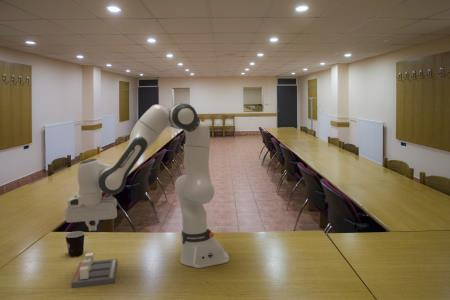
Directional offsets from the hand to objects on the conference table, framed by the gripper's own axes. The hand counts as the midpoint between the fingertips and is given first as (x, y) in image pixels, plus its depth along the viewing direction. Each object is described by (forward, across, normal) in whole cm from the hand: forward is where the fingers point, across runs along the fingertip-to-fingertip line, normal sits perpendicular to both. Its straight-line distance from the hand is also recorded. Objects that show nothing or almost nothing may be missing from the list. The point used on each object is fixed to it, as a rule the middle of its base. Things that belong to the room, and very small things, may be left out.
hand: (92, 230), depth 153 cm
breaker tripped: (+17, +3, +1) cm, 17 cm away
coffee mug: (+19, +12, -23) cm, 32 cm away
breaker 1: (+17, +3, +8) cm, 19 cm away
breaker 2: (+17, +3, -6) cm, 18 cm away
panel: (+19, 0, +1) cm, 19 cm away
